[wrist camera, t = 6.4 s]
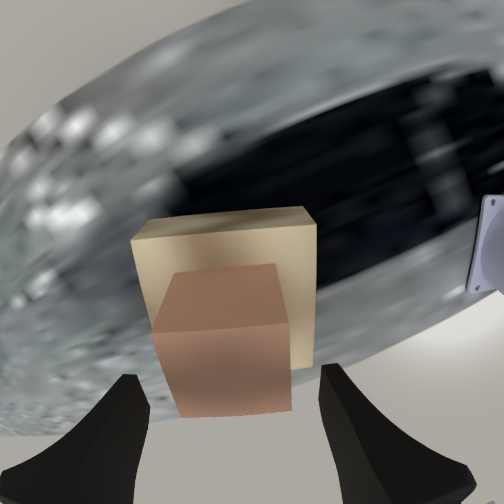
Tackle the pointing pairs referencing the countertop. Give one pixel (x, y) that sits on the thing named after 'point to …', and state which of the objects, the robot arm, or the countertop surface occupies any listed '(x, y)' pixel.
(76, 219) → the countertop surface
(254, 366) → the terracotta cube
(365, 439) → the robot arm
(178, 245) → the birch base
